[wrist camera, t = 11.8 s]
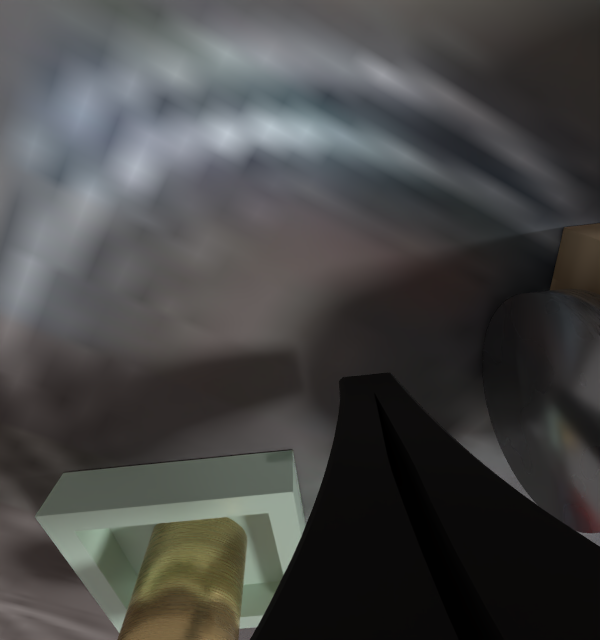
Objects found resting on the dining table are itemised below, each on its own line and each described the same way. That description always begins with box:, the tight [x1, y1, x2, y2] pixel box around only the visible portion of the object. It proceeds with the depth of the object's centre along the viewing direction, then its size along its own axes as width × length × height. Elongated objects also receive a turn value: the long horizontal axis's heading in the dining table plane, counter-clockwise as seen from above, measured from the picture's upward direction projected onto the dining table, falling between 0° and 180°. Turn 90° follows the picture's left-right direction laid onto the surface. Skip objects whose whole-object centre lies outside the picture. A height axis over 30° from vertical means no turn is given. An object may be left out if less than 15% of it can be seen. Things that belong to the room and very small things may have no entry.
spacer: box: [118, 517, 247, 640], centre depth 13 cm, size 4×4×6 cm
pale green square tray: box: [35, 450, 306, 633], centre depth 15 cm, size 9×9×2 cm
